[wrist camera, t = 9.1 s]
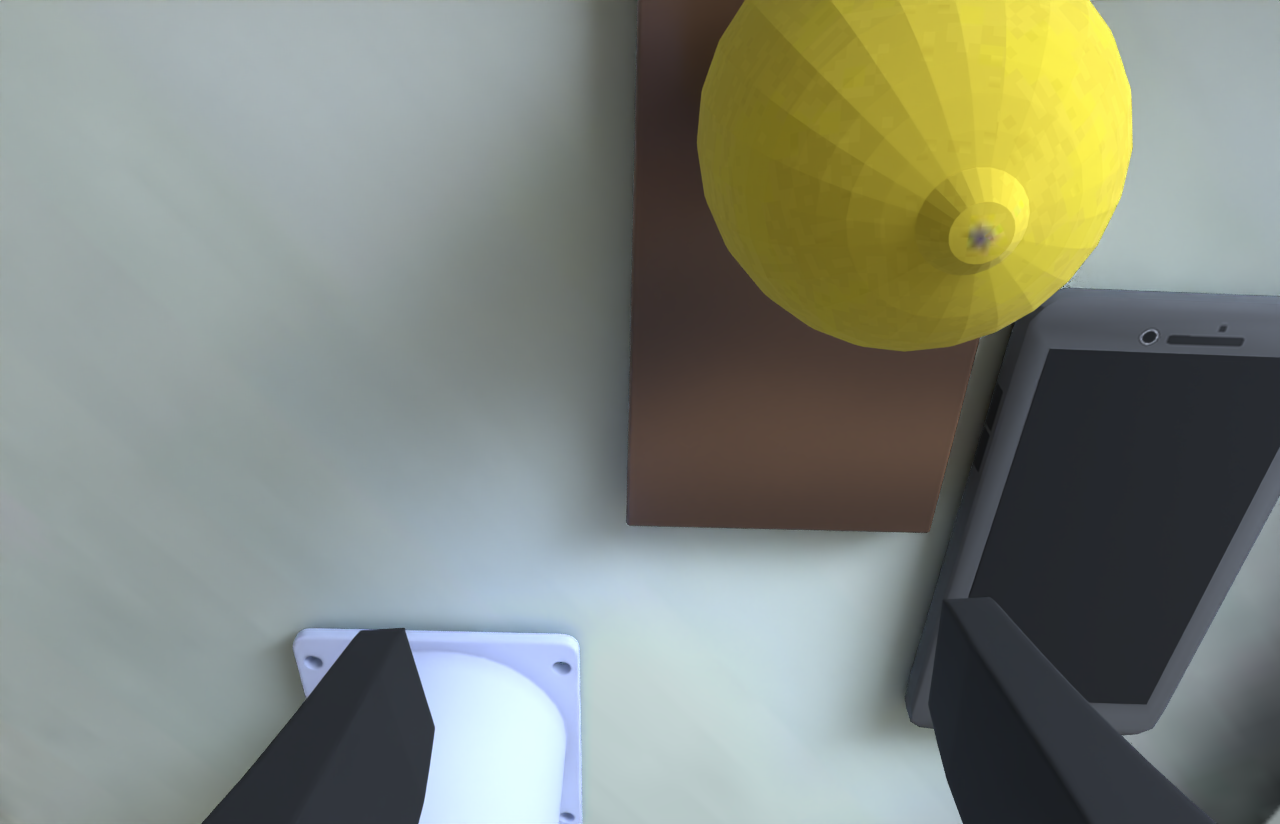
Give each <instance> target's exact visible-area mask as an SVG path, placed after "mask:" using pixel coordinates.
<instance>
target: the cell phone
mask: <svg viewBox="0 0 1280 824" xmlns="http://www.w3.org/2000/svg"><path fill="white" fill-rule="evenodd" d="M1279 496H1280V296H1258V295H1233V294H1207V293H1182V292H1157V291H1132V290H1107V289H1082V288H1063V289H1059V290H1058V291H1057V292H1055V293H1054V294H1053V295H1052V296H1051V297H1050V298H1048V299H1047V300H1046V301H1045V302H1044V303H1042V304H1041V305H1040V306H1039V307H1038V308H1037V309H1035V310H1034V311H1033V312H1031V313H1029V314H1027V315H1025V316H1024V317H1022V318H1020V319H1018V320H1017V321H1016V322H1015V324H1014V327H1013V330H1012V333H1011V336H1010V339H1009V342H1008V346H1007V349H1006V352H1005V355H1004V359H1003V362H1002V365H1001V369H1000V372H999V376H998V379H997V382H996V386H995V389H994V393H993V396H992V399H991V403H990V406H989V409H988V413H987V416H986V420H985V423H984V426H983V430H982V433H981V436H980V440H979V443H978V447H977V450H976V453H975V457H974V460H973V464H972V467H971V470H970V474H969V477H968V480H967V484H966V487H965V491H964V494H963V497H962V501H961V504H960V507H959V511H958V514H957V518H956V521H955V524H954V528H953V531H952V535H951V538H950V541H949V545H948V548H947V551H946V555H945V558H944V562H943V565H942V568H941V572H940V575H939V578H938V582H937V585H936V589H935V592H934V595H933V599H932V602H931V606H930V609H929V612H928V616H927V619H926V622H925V626H924V629H923V633H922V636H921V639H920V643H919V646H918V649H917V653H916V656H915V660H914V663H913V666H912V670H911V673H910V677H909V681H908V686H907V690H906V695H905V703H906V709H907V712H908V715H909V718H910V721H911V722H912V723H914V724H915V725H917V726H919V727H923V728H932V729H934V727H933V723H932V719H931V715H930V711H929V706H928V701H929V693H930V686H931V679H932V672H933V665H934V658H935V651H936V644H937V637H938V630H939V623H940V616H941V609H942V602H943V599H961V598H980V597H991V598H992V599H993V600H994V601H995V602H996V603H997V604H998V605H999V606H1000V607H1001V608H1002V609H1003V610H1004V612H1005V613H1006V614H1007V615H1008V616H1009V617H1010V618H1011V619H1012V620H1013V622H1014V623H1015V624H1016V625H1017V626H1018V627H1019V628H1020V629H1021V630H1022V632H1023V633H1024V634H1025V635H1026V636H1027V637H1028V638H1029V639H1030V640H1031V642H1032V643H1033V644H1034V645H1035V646H1036V647H1037V648H1038V649H1039V650H1040V651H1041V653H1042V654H1043V655H1044V656H1045V657H1046V658H1047V659H1048V660H1049V661H1050V662H1051V663H1052V664H1053V665H1054V667H1055V668H1056V669H1057V670H1058V671H1059V672H1060V673H1061V674H1062V675H1063V676H1064V677H1065V678H1066V679H1067V680H1068V682H1069V683H1070V684H1071V685H1072V686H1073V687H1074V688H1075V689H1076V690H1077V691H1078V692H1079V693H1080V694H1081V695H1082V696H1083V697H1084V698H1085V699H1086V700H1087V701H1088V702H1089V703H1090V704H1091V705H1092V706H1093V707H1094V708H1095V709H1096V710H1097V711H1098V712H1099V713H1100V714H1101V715H1102V716H1103V717H1104V718H1105V719H1106V720H1107V721H1108V722H1109V723H1110V724H1111V725H1112V726H1113V727H1114V728H1115V729H1116V730H1117V731H1118V732H1119V733H1120V734H1121V735H1133V734H1139V733H1142V732H1144V731H1147V730H1150V729H1152V728H1153V727H1154V726H1155V724H1156V723H1157V721H1158V720H1159V718H1160V716H1161V715H1162V713H1163V712H1164V710H1165V708H1166V707H1167V705H1168V703H1169V701H1170V699H1171V697H1172V695H1173V694H1174V692H1175V690H1176V688H1177V686H1178V684H1179V682H1180V681H1181V679H1182V677H1183V675H1184V673H1185V671H1186V669H1187V667H1188V666H1189V664H1190V662H1191V660H1192V658H1193V656H1194V654H1195V653H1196V651H1197V649H1198V647H1199V645H1200V643H1201V641H1202V640H1203V638H1204V636H1205V634H1206V632H1207V630H1208V628H1209V627H1210V625H1211V623H1212V621H1213V619H1214V617H1215V615H1216V614H1217V612H1218V610H1219V608H1220V606H1221V604H1222V602H1223V601H1224V599H1225V597H1226V595H1227V593H1228V591H1229V589H1230V587H1231V586H1232V584H1233V582H1234V580H1235V578H1236V576H1237V574H1238V573H1239V571H1240V569H1241V567H1242V565H1243V563H1244V561H1245V560H1246V558H1247V556H1248V554H1249V552H1250V550H1251V548H1252V547H1253V545H1254V543H1255V541H1256V539H1257V537H1258V535H1259V534H1260V532H1261V530H1262V528H1263V526H1264V524H1265V522H1266V520H1267V519H1268V517H1269V515H1270V513H1271V511H1272V509H1273V507H1274V506H1275V504H1276V502H1277V500H1278V498H1279Z"/></svg>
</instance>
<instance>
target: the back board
mask: <svg viewBox="0 0 1280 824" xmlns="http://www.w3.org/2000/svg"><path fill="white" fill-rule="evenodd" d="M744 1H745V0H637V39H636V86H635V133H634V179H633V226H632V273H631V320H630V366H629V413H628V460H627V506H626V523H627V525H629V526H657V527H699V528H741V529H783V530H825V531H867V532H909V533H928V532H929V531H930V528H931V525H932V521H933V517H934V513H935V509H936V505H937V501H938V498H939V494H940V490H941V486H942V482H943V478H944V474H945V471H946V467H947V463H948V459H949V455H950V451H951V447H952V444H953V440H954V436H955V432H956V428H957V424H958V420H959V416H960V413H961V409H962V405H963V401H964V397H965V393H966V389H967V386H968V382H969V378H970V374H971V370H972V366H973V362H974V359H975V355H976V351H977V347H978V343H979V339H980V338H977V339H973V340H970V341H967V342H964V343H961V344H958V345H955V346H950V347H943V348H934V349H924V350H915V351H905V352H904V351H895V350H887V349H878V348H869V347H862V346H858V345H854V344H852V343H849V342H846V341H844V340H841V339H838V338H836V337H833V336H831V335H828V334H825V333H823V332H820V331H817V330H815V329H813V328H811V327H810V326H808V325H806V324H805V323H803V322H802V321H800V320H799V319H798V318H796V317H795V316H793V315H792V314H791V313H789V312H788V311H786V310H785V309H784V308H782V307H781V306H779V305H778V304H777V303H775V302H774V301H772V300H771V299H770V298H769V297H768V296H766V295H765V294H764V293H763V292H762V291H761V290H760V288H759V287H758V286H757V285H756V284H755V282H754V281H753V280H752V279H751V278H750V276H749V275H748V274H747V273H746V271H745V270H744V269H743V268H742V267H741V265H740V264H739V263H738V262H737V260H736V259H735V258H734V257H733V256H732V254H731V253H730V252H729V250H728V248H727V247H726V245H725V243H724V241H723V238H722V236H721V234H720V232H719V229H718V227H717V225H716V222H715V220H714V218H713V215H712V213H711V211H710V209H709V206H708V204H707V201H706V198H705V196H704V189H703V183H702V176H701V169H700V163H699V156H698V150H697V134H698V123H699V113H700V102H701V92H702V88H703V85H704V82H705V80H706V77H707V74H708V71H709V68H710V65H711V62H712V60H713V57H714V54H715V51H716V48H717V45H718V42H719V40H720V38H721V37H722V35H723V34H724V32H725V31H726V29H727V27H728V26H729V24H730V23H731V21H732V20H733V18H734V17H735V15H736V13H737V12H738V10H739V9H740V7H741V6H742V4H743V2H744Z"/></svg>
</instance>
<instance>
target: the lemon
mask: <svg viewBox="0 0 1280 824" xmlns="http://www.w3.org/2000/svg"><path fill="white" fill-rule="evenodd" d="M1132 149H1133V143H1132V99H1131V88H1130V85H1129V82H1128V79H1127V76H1126V73H1125V70H1124V67H1123V63H1122V60H1121V57H1120V54H1119V51H1118V48H1117V45H1116V42H1115V39H1114V37H1113V35H1112V32H1111V30H1110V28H1109V27H1108V26H1107V24H1106V23H1105V21H1104V20H1103V18H1102V17H1101V16H1100V14H1099V13H1098V12H1097V10H1096V9H1095V7H1094V6H1093V5H1092V3H1091V2H1090V0H745V1H744V2H743V4H742V6H741V7H740V9H739V10H738V12H737V13H736V15H735V17H734V18H733V20H732V21H731V23H730V24H729V26H728V27H727V29H726V31H725V32H724V34H723V35H722V37H721V38H720V40H719V42H718V45H717V48H716V51H715V54H714V57H713V60H712V62H711V65H710V68H709V71H708V74H707V77H706V80H705V82H704V85H703V88H702V92H701V102H700V113H699V123H698V134H697V150H698V156H699V163H700V169H701V176H702V183H703V189H704V196H705V198H706V201H707V204H708V206H709V209H710V211H711V213H712V215H713V218H714V220H715V222H716V225H717V227H718V229H719V232H720V234H721V236H722V238H723V241H724V243H725V245H726V247H727V248H728V250H729V252H730V253H731V254H732V256H733V257H734V258H735V259H736V260H737V262H738V263H739V264H740V265H741V267H742V268H743V269H744V270H745V271H746V273H747V274H748V275H749V276H750V278H751V279H752V280H753V281H754V282H755V284H756V285H757V286H758V287H759V288H760V290H761V291H762V292H763V293H764V294H765V295H766V296H768V297H769V298H770V299H771V300H772V301H774V302H775V303H777V304H778V305H779V306H781V307H782V308H784V309H785V310H786V311H788V312H789V313H791V314H792V315H793V316H795V317H796V318H798V319H799V320H800V321H802V322H803V323H805V324H806V325H808V326H810V327H811V328H813V329H815V330H817V331H820V332H823V333H825V334H828V335H831V336H833V337H836V338H838V339H841V340H844V341H846V342H849V343H852V344H854V345H858V346H862V347H869V348H878V349H887V350H895V351H904V352H905V351H915V350H924V349H934V348H943V347H950V346H955V345H958V344H961V343H964V342H967V341H970V340H973V339H977V338H980V337H983V336H986V335H989V334H992V333H995V332H997V331H999V330H1001V329H1002V328H1004V327H1006V326H1008V325H1009V324H1011V323H1013V322H1015V321H1017V320H1018V319H1020V318H1022V317H1024V316H1025V315H1027V314H1029V313H1031V312H1033V311H1034V310H1035V309H1037V308H1038V307H1039V306H1040V305H1041V304H1042V303H1044V302H1045V301H1046V300H1047V299H1048V298H1050V297H1051V296H1052V295H1053V294H1054V293H1055V292H1057V291H1058V290H1059V289H1060V288H1061V287H1062V286H1064V285H1065V284H1066V283H1067V282H1068V281H1069V280H1070V279H1071V278H1072V276H1073V275H1074V274H1075V273H1076V271H1077V270H1078V269H1079V268H1080V266H1081V265H1082V264H1083V263H1084V261H1085V260H1086V259H1087V258H1088V256H1089V255H1090V254H1091V253H1092V251H1093V250H1094V249H1095V248H1096V246H1097V245H1098V243H1099V241H1100V239H1101V237H1102V235H1103V233H1104V231H1105V229H1106V227H1107V225H1108V223H1109V221H1110V219H1111V217H1112V215H1113V213H1114V211H1115V209H1116V207H1117V204H1118V202H1119V200H1120V198H1121V196H1122V192H1123V187H1124V183H1125V179H1126V174H1127V170H1128V166H1129V162H1130V157H1131V153H1132Z"/></svg>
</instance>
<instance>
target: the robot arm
mask: <svg viewBox="0 0 1280 824" xmlns="http://www.w3.org/2000/svg"><path fill="white" fill-rule="evenodd" d="M293 652H294V655H295V659H296V663H297V667H298V671H299V674H300V678H301V682H302V686H303V690H304V693H305V697H306V700H305V701H304V702H303V704H302V705H301V706H300V708H299V709H298V710H297V711H296V713H295V714H294V715H293V716H292V718H291V719H290V720H289V721H288V723H287V724H286V725H285V726H284V728H283V729H282V730H281V731H280V732H279V734H278V735H277V736H276V737H275V739H274V740H273V741H272V742H271V743H270V745H269V746H268V747H267V748H266V750H265V751H264V752H263V753H262V754H261V756H260V757H259V758H258V759H257V761H256V762H255V763H254V764H253V765H252V767H251V768H250V769H249V770H248V771H247V773H246V774H245V775H244V776H243V777H242V778H241V780H240V781H239V782H238V783H237V784H236V785H235V786H234V788H233V789H232V790H231V791H230V792H229V793H228V794H227V795H226V797H225V798H224V799H223V800H222V801H221V802H220V803H219V804H218V806H217V807H216V808H215V809H214V810H213V811H212V812H211V813H210V815H209V816H208V817H207V818H206V819H205V820H204V821H203V822H202V824H582V768H581V707H580V647H579V643H578V641H577V640H576V639H575V638H574V637H572V636H569V635H566V634H551V633H507V632H464V631H420V630H405V628H396V629H377V630H376V629H333V628H307V629H303V630H301V631H299V633H298V634H297V635H296V638H295V640H294V642H293ZM313 656H314V657H317V658H314V657H313ZM557 662H565V664H560V663H557ZM928 706H929V711H930V715H931V719H932V723H933V727H934V731H935V735H936V740H937V744H938V748H939V751H940V755H941V759H942V763H943V767H944V771H945V774H946V778H947V781H948V784H949V787H950V790H951V792H952V795H953V798H954V801H955V803H956V806H957V809H958V811H959V814H960V817H961V819H962V822H963V824H1217V823H1216V822H1215V821H1214V820H1212V819H1211V818H1210V817H1209V816H1208V815H1207V814H1206V813H1204V812H1203V811H1202V810H1201V809H1200V808H1199V807H1198V806H1196V805H1195V804H1194V803H1193V802H1192V801H1191V800H1190V799H1189V798H1187V797H1186V796H1185V795H1184V794H1183V793H1182V792H1181V791H1180V790H1179V789H1178V788H1177V787H1175V786H1174V785H1173V784H1172V783H1171V782H1170V781H1169V780H1168V779H1167V778H1166V777H1165V776H1164V775H1162V774H1161V773H1160V772H1159V771H1158V770H1157V769H1156V768H1155V767H1154V766H1153V765H1152V764H1151V763H1149V762H1148V761H1147V760H1146V759H1145V758H1144V757H1143V756H1142V755H1141V754H1140V753H1139V752H1138V751H1137V750H1136V749H1135V748H1134V747H1133V746H1132V745H1131V744H1130V743H1129V742H1128V741H1127V740H1126V739H1125V738H1124V737H1123V736H1122V735H1121V734H1120V733H1119V732H1118V731H1117V730H1116V729H1115V728H1114V727H1113V726H1112V725H1111V724H1110V723H1109V722H1108V721H1107V720H1106V719H1105V718H1104V717H1103V716H1102V715H1101V714H1100V713H1099V712H1098V711H1097V710H1096V709H1095V708H1094V707H1093V706H1092V705H1091V704H1090V703H1089V702H1088V701H1087V700H1086V699H1085V698H1084V697H1083V696H1082V695H1081V694H1080V693H1079V692H1078V691H1077V690H1076V689H1075V688H1074V687H1073V686H1072V685H1071V684H1070V683H1069V682H1068V680H1067V679H1066V678H1065V677H1064V676H1063V675H1062V674H1061V673H1060V672H1059V671H1058V670H1057V669H1056V668H1055V667H1054V665H1053V664H1052V663H1051V662H1050V661H1049V660H1048V659H1047V658H1046V657H1045V656H1044V655H1043V654H1042V653H1041V651H1040V650H1039V649H1038V648H1037V647H1036V646H1035V645H1034V644H1033V643H1032V642H1031V640H1030V639H1029V638H1028V637H1027V636H1026V635H1025V634H1024V633H1023V632H1022V630H1021V629H1020V628H1019V627H1018V626H1017V625H1016V624H1015V623H1014V622H1013V620H1012V619H1011V618H1010V617H1009V616H1008V615H1007V614H1006V613H1005V612H1004V610H1003V609H1002V608H1001V607H1000V606H999V605H998V604H997V603H996V602H995V601H994V600H993V599H992V598H991V597H980V598H961V599H943V602H942V609H941V616H940V623H939V630H938V637H937V644H936V651H935V658H934V665H933V672H932V679H931V686H930V693H929V701H928Z"/></svg>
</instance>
